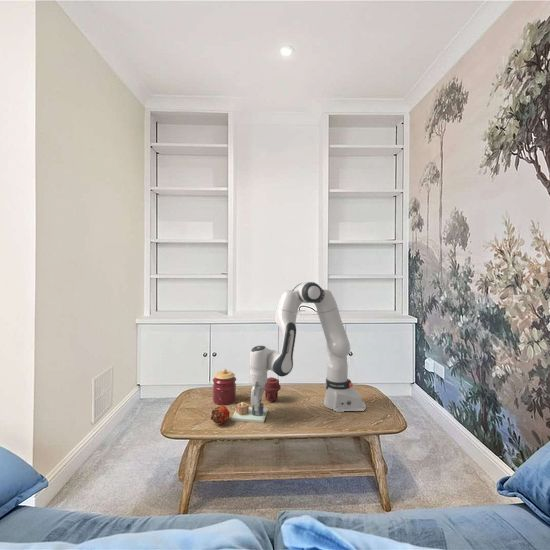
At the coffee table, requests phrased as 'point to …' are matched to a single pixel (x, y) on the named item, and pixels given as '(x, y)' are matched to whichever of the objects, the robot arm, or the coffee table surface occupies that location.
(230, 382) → the canister
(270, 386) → the mechanical component
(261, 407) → the loose gear
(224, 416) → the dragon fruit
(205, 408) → the coffee table surface
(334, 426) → the coffee table surface
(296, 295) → the robot arm
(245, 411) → the gear board
